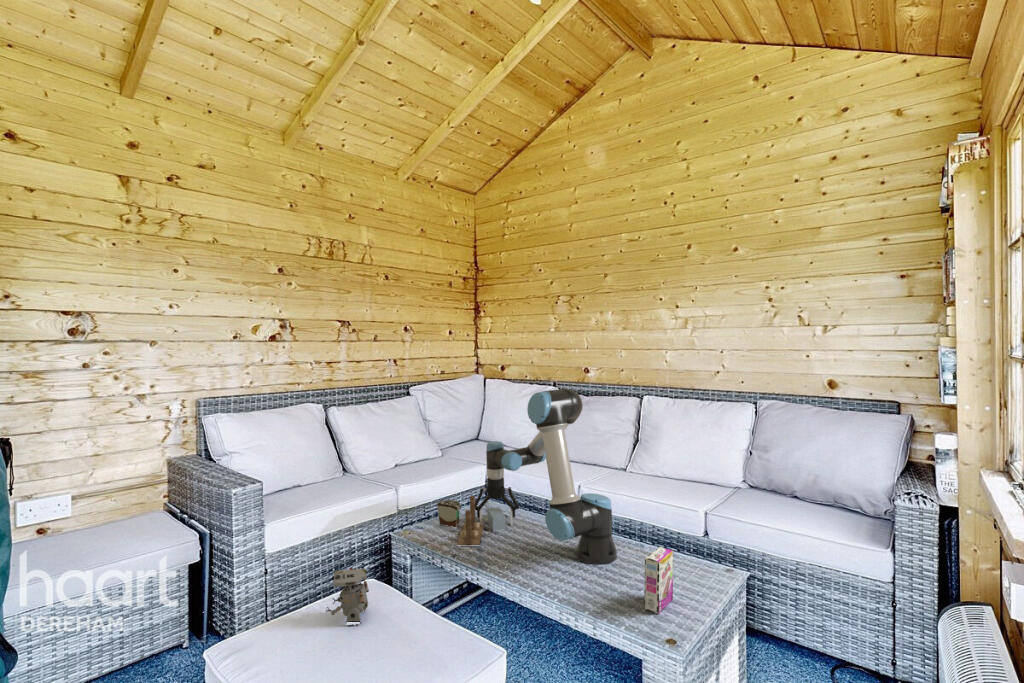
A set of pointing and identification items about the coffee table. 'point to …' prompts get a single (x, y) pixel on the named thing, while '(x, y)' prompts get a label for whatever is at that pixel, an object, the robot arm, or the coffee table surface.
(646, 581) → the candy bar box
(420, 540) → the coffee table surface
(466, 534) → the peg stand
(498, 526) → the shelf board
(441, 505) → the food container
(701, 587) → the coffee table surface
